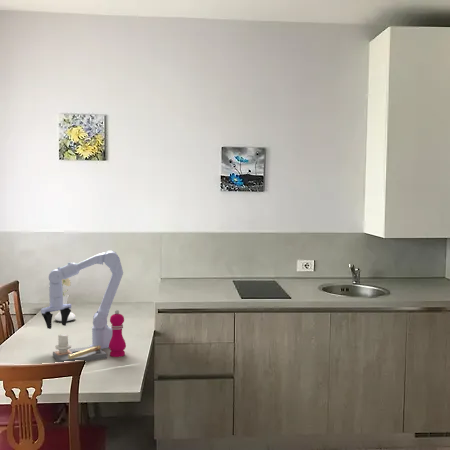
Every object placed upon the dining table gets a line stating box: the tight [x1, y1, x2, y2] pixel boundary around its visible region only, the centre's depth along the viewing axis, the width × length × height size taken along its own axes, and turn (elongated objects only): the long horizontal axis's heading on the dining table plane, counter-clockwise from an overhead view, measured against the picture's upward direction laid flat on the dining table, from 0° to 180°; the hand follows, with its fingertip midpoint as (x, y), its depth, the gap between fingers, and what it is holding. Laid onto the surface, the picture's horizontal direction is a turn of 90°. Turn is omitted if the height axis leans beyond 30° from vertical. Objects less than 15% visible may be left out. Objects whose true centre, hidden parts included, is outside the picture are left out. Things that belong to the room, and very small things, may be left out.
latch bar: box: [68, 345, 102, 359], centre depth 236 cm, size 17×2×1 cm, turn 148°
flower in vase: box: [53, 278, 77, 322], centre depth 311 cm, size 13×11×25 cm
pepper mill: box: [108, 309, 127, 358], centre depth 244 cm, size 7×7×20 cm
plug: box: [55, 333, 72, 354], centre depth 241 cm, size 6×6×7 cm
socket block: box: [52, 346, 108, 363], centre depth 241 cm, size 19×14×3 cm
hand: (56, 326), depth 254 cm, fingers open, 7 cm apart
